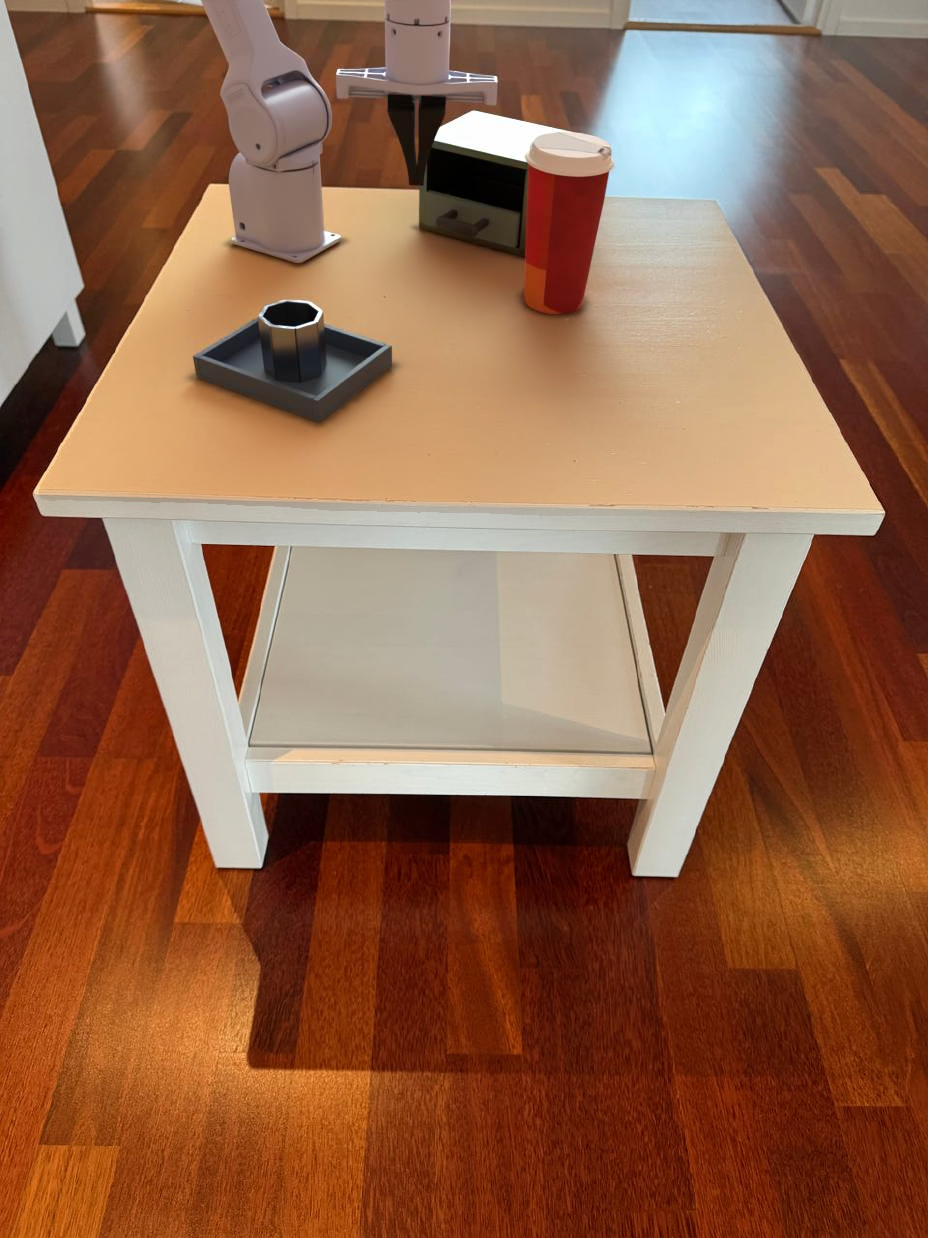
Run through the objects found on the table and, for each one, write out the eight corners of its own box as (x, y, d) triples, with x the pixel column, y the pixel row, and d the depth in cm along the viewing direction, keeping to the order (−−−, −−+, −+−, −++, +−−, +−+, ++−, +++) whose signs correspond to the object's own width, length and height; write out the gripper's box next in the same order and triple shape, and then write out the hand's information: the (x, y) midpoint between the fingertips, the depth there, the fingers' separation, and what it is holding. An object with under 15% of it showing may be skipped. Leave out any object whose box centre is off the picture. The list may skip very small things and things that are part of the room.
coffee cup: (603, 294, 96) (628, 139, 85) (577, 326, 90) (599, 165, 80) (529, 276, 98) (544, 123, 88) (499, 307, 93) (511, 147, 82)
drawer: (409, 234, 102) (409, 201, 100) (472, 195, 112) (474, 164, 109) (499, 259, 99) (501, 225, 96) (557, 216, 108) (560, 184, 105)
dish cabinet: (418, 228, 106) (419, 136, 99) (469, 197, 114) (473, 109, 107) (526, 257, 102) (535, 163, 95) (571, 223, 109) (582, 133, 102)
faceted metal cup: (255, 362, 82) (248, 309, 78) (305, 346, 84) (301, 294, 81) (285, 387, 79) (279, 333, 75) (336, 370, 81) (333, 317, 78)
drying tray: (196, 377, 80) (192, 355, 79) (275, 327, 88) (273, 306, 86) (319, 423, 76) (317, 400, 75) (392, 366, 83) (392, 345, 82)
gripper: (499, 11, 83) (489, 170, 92) (337, 3, 82) (345, 164, 92) (502, 30, 78) (491, 196, 87) (330, 22, 77) (338, 190, 87)
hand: (416, 181), depth 89 cm, fingers closed
